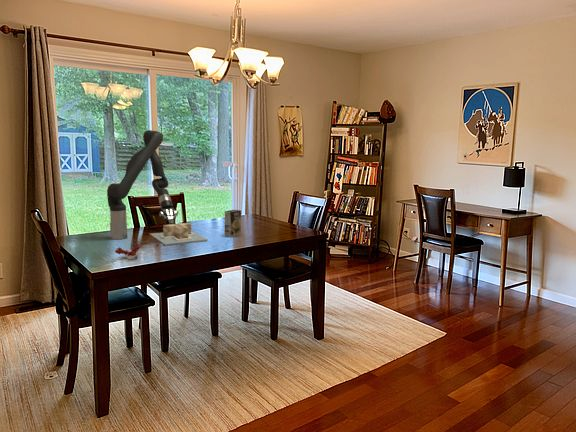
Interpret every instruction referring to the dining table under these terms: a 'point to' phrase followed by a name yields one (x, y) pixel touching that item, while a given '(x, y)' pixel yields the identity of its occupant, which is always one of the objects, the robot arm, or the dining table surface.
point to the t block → (177, 230)
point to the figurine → (129, 251)
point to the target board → (175, 241)
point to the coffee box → (232, 223)
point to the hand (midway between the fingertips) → (172, 224)
